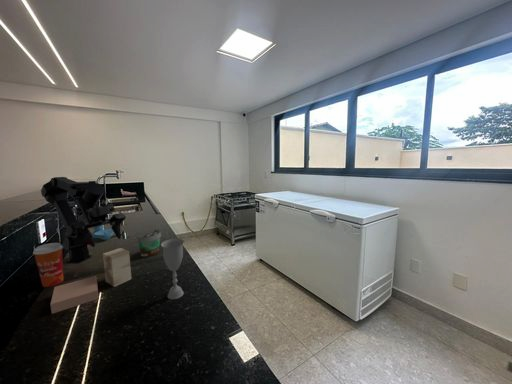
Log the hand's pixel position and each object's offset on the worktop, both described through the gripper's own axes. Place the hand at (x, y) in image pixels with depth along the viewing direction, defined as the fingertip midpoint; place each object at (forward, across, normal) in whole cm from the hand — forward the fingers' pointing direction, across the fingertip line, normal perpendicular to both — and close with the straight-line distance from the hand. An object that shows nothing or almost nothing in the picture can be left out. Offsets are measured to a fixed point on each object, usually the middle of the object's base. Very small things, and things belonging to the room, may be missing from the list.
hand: (107, 242), depth 82 cm
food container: (+10, +20, +9) cm, 24 cm away
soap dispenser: (-19, +20, +43) cm, 51 cm away
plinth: (+14, -14, +4) cm, 20 cm away
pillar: (+15, -2, +2) cm, 15 cm away
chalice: (+31, +3, -17) cm, 36 cm away
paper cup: (+3, -14, +17) cm, 22 cm away
